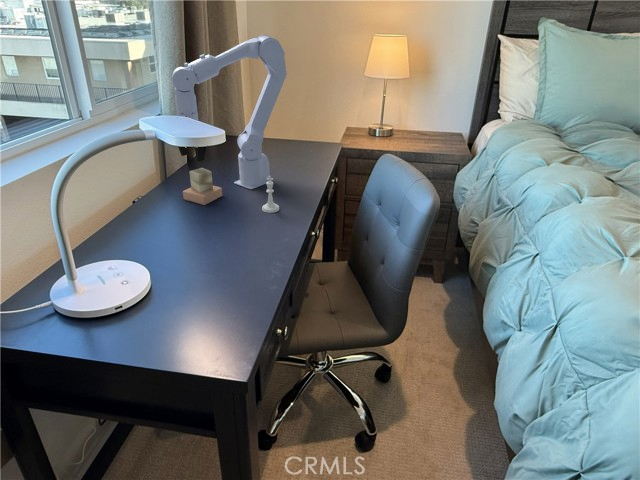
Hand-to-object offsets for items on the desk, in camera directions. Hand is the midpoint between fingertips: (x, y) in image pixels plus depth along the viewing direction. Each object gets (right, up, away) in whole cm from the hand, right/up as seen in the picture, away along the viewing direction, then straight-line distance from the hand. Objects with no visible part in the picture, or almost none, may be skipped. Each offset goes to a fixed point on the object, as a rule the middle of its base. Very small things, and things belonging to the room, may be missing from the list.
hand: (192, 157), depth 134 cm
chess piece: (+24, -16, -7) cm, 30 cm away
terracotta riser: (+3, -12, -1) cm, 13 cm away
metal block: (+3, -10, -2) cm, 10 cm away
